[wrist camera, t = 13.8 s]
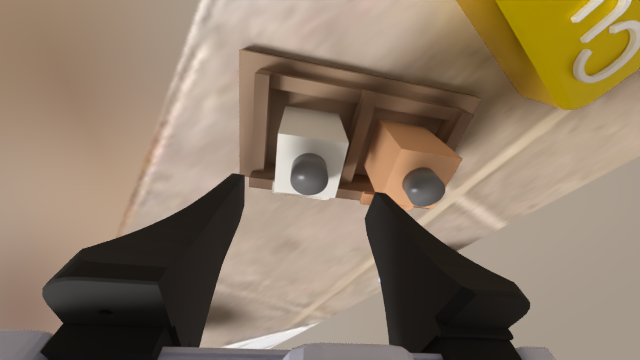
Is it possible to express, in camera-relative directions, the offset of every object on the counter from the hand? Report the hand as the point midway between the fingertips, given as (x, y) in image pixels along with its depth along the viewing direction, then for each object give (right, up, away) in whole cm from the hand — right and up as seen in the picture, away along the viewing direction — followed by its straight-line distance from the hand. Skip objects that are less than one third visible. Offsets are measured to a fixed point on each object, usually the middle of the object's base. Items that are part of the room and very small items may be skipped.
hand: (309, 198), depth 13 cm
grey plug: (0, +5, +8) cm, 9 cm away
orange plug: (+7, +4, +9) cm, 12 cm away
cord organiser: (+3, +5, +9) cm, 11 cm away
